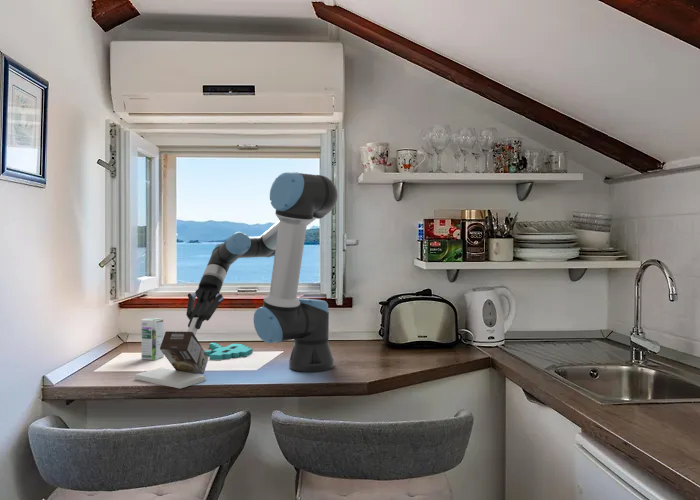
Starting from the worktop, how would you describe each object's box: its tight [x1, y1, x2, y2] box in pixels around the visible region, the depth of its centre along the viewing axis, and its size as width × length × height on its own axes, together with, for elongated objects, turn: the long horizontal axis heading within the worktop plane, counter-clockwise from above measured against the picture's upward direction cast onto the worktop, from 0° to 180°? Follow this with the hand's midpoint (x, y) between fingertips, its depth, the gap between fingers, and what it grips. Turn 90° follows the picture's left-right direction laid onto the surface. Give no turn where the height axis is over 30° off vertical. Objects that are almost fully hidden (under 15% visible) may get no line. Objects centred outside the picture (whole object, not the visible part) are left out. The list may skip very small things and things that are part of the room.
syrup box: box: [140, 317, 165, 361], centre depth 196 cm, size 6×6×14 cm
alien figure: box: [204, 342, 254, 361], centre depth 204 cm, size 20×2×20 cm
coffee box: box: [160, 331, 209, 375], centre depth 169 cm, size 9×6×16 cm
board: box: [134, 367, 207, 389], centre depth 167 cm, size 20×10×2 cm, turn 59°
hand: (190, 336), depth 174 cm, fingers closed
